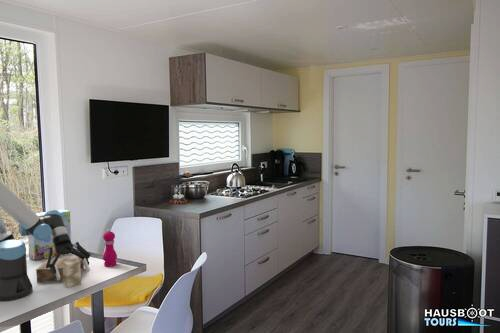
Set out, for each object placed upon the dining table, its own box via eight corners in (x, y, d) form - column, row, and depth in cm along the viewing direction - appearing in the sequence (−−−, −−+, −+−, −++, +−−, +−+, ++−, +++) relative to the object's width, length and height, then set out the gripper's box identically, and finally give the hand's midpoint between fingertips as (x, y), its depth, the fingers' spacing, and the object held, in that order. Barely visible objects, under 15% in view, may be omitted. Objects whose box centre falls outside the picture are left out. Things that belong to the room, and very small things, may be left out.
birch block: (68, 287, 181) (66, 264, 180) (63, 284, 186) (62, 261, 185) (81, 284, 186) (80, 261, 185) (76, 281, 190) (75, 258, 189)
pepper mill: (105, 268, 207) (103, 231, 206) (101, 264, 213) (100, 228, 212) (118, 265, 211) (117, 229, 210) (115, 262, 217) (113, 226, 216)
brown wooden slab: (36, 281, 189) (36, 269, 189) (47, 270, 205) (47, 259, 205) (76, 278, 192) (75, 267, 192) (84, 268, 208) (83, 257, 208)
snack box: (35, 261, 220) (32, 216, 218) (28, 258, 225) (25, 214, 223) (72, 251, 237) (70, 210, 235) (65, 249, 243) (63, 208, 241)
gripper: (83, 237, 204) (97, 271, 195) (31, 247, 187) (44, 286, 178) (87, 228, 200) (102, 264, 191) (34, 238, 183) (47, 278, 173)
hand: (74, 274), depth 184 cm, fingers open, 13 cm apart
